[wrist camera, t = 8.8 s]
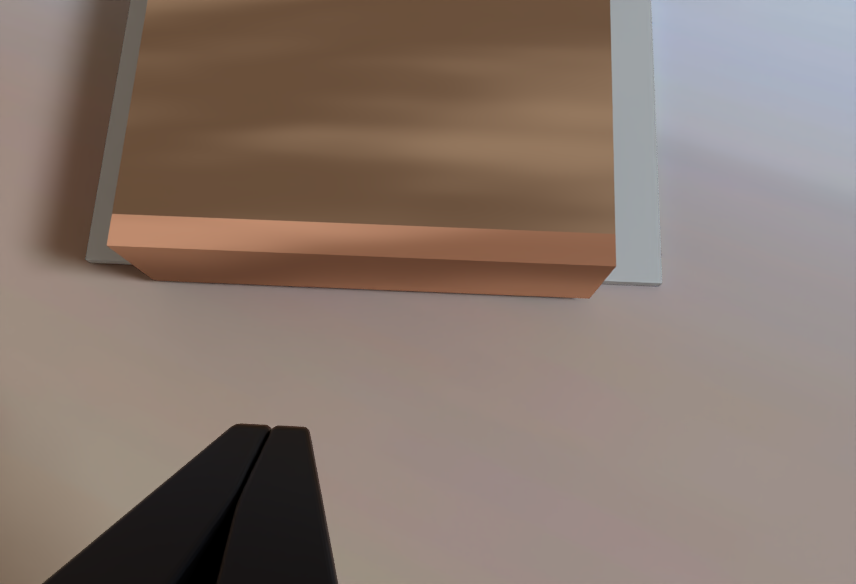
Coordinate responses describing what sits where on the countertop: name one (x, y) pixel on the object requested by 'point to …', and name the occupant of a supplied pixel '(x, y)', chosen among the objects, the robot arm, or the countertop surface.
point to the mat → (630, 144)
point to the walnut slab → (372, 145)
